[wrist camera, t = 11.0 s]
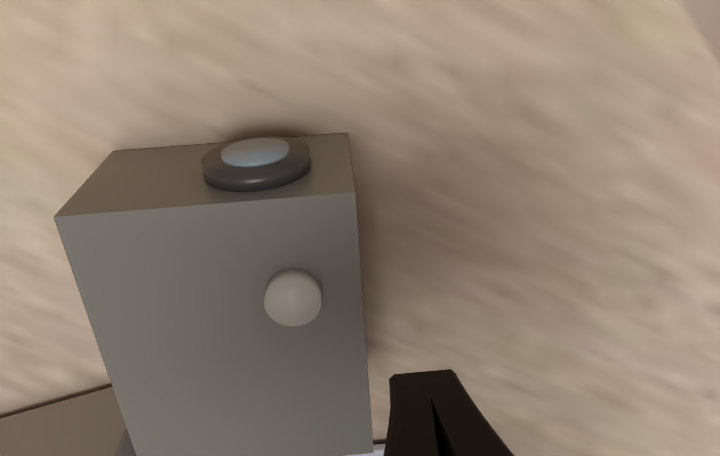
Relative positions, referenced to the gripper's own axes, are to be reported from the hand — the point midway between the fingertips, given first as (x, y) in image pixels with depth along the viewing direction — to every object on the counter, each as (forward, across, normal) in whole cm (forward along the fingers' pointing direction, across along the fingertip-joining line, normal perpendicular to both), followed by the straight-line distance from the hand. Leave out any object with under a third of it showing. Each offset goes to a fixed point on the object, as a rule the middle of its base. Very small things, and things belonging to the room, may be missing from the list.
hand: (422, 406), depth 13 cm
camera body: (+10, +5, +2) cm, 11 cm away
